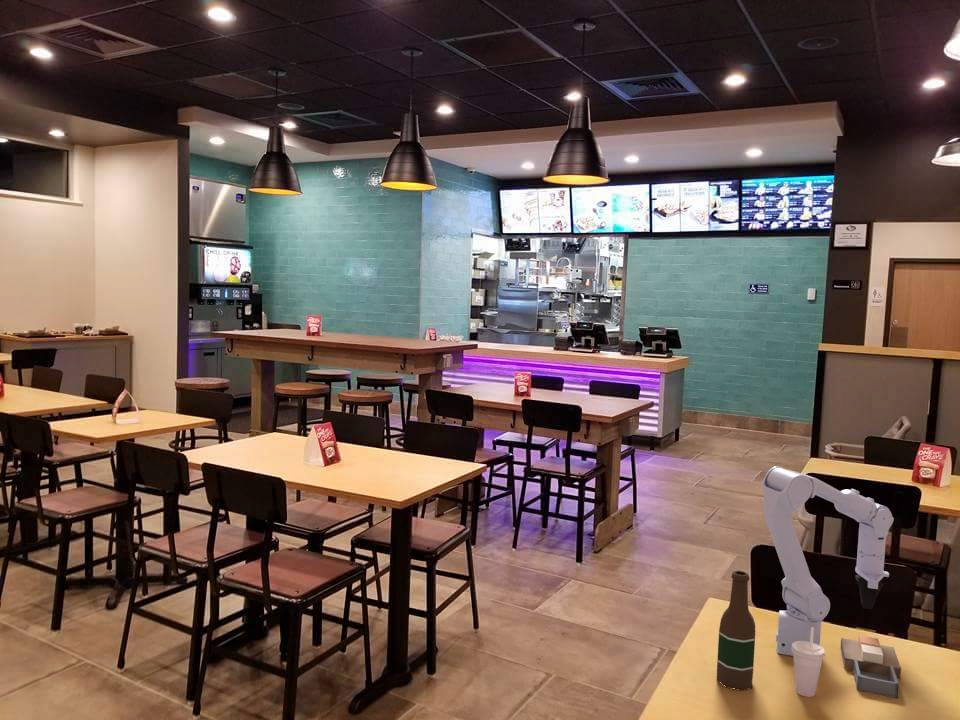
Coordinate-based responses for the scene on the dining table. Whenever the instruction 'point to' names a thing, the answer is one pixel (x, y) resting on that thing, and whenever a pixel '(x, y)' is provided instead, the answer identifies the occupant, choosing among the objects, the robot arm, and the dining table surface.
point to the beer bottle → (737, 638)
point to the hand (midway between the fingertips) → (867, 607)
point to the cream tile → (871, 654)
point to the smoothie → (807, 665)
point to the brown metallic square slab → (852, 651)
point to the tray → (876, 681)
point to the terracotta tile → (868, 641)
